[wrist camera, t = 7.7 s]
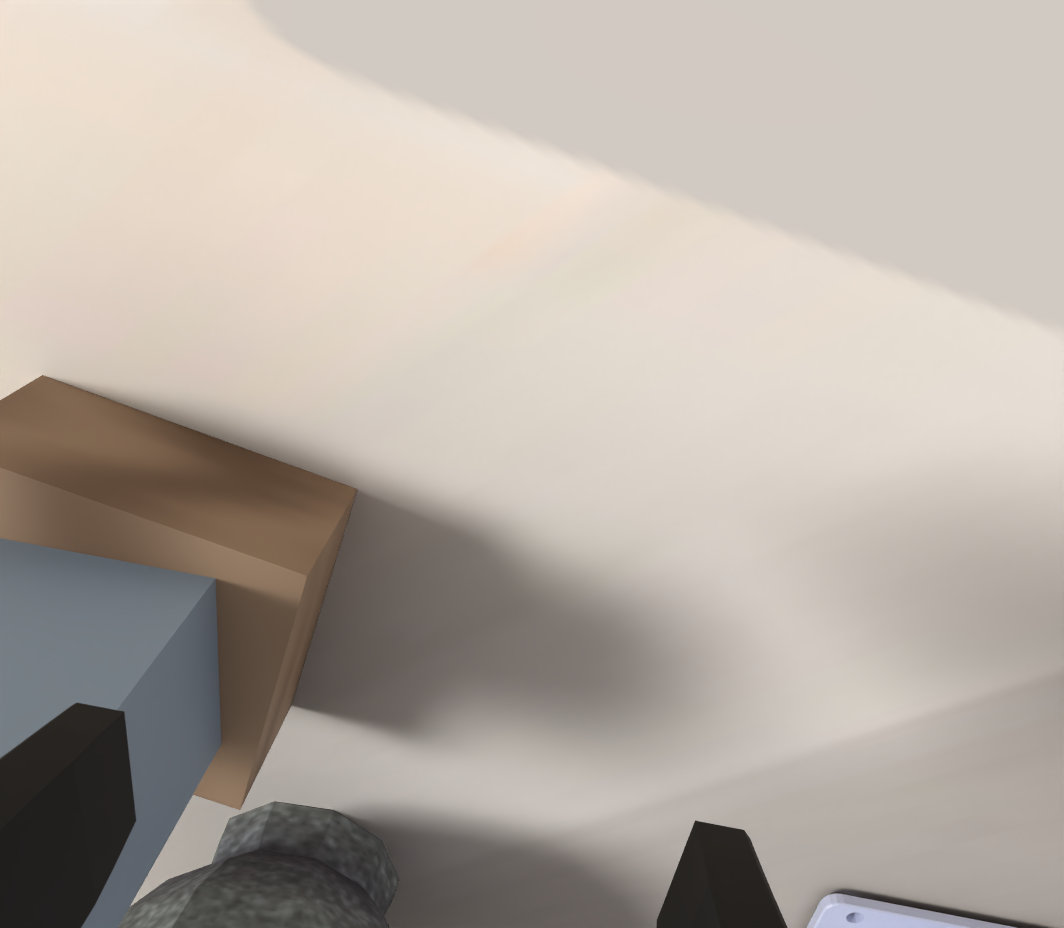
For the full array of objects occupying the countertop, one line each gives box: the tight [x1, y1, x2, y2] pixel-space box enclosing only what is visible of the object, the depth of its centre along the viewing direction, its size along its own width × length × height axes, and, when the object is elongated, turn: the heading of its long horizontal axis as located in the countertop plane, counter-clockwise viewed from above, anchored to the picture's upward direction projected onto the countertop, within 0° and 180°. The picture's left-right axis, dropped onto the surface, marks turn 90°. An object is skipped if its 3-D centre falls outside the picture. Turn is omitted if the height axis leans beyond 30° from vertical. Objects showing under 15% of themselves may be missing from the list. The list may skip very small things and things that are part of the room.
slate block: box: [0, 538, 221, 928], centre depth 16 cm, size 5×5×6 cm
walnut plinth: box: [0, 375, 357, 810], centre depth 21 cm, size 8×8×4 cm
